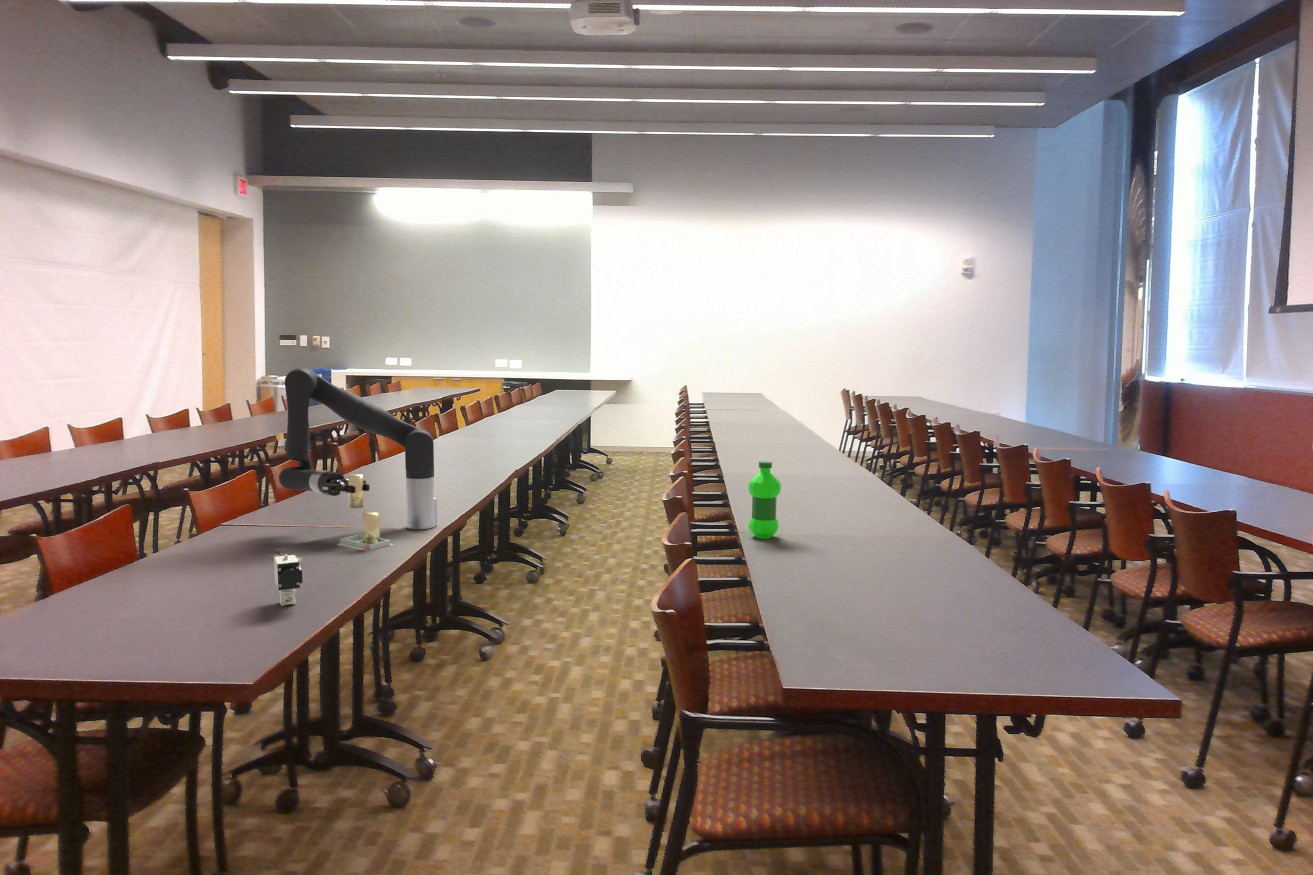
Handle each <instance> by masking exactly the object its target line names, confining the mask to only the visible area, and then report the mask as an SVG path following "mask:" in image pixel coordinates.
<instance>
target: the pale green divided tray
mask: <svg viewBox="0 0 1313 875" xmlns="http://www.w3.org/2000/svg"><path fill="white" fill-rule="evenodd" d="M336 545H337V546H341V547H347V548H351V549H355V550H360V551H363V552H364V551H365V552H368V551H372V550H377V549H380V548H386V547H389V546H393V545H394V543H391V540H390V539H385V538H381V537H380V542H378V543H374V544H366V543H364V534H356V535H351V536H345V537H341V538H339V543H337V544H336Z"/></svg>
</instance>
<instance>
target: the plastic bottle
mask: <svg viewBox="0 0 1313 875" xmlns="http://www.w3.org/2000/svg"><path fill="white" fill-rule="evenodd" d="M772 467H773V462H772V461H768V460H767V461H764V460H763V461H759V462H758V468H759V469H760V471H759V473H757V474H756V475H755V476H754V477H753V478H752V479H751V480H750V481H749V484H748V491H749V494H750V495H751V497H752V501H751V505H752V506H751V518H750V521H749V523H748V529H749V531H750V533H751V534H752V535H753V536H755V538H757V539H761V540H762V539H763V540H768V539H771V538H772V537H774V536H775V534H776V533H777V532H778V530H779V528H780V527H779V526H780V525H779V521H778V519H777V499H778V496H779V495H780V493H781V488H782V487H781V486H782V484H781V482H780V480H779V479H778V478H777V477H776V476H775V475H774V474H772V473H771V469H772Z"/></svg>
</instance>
